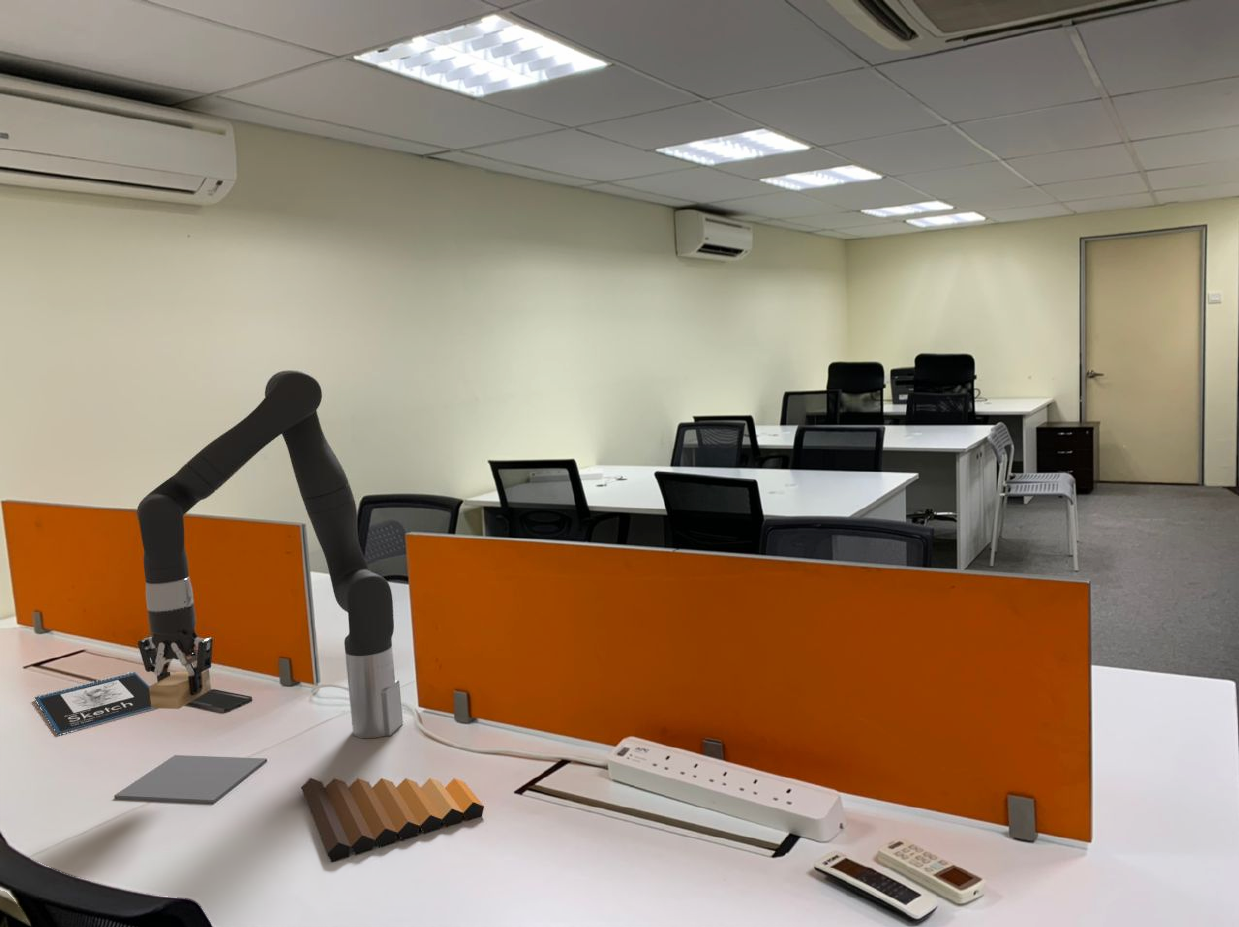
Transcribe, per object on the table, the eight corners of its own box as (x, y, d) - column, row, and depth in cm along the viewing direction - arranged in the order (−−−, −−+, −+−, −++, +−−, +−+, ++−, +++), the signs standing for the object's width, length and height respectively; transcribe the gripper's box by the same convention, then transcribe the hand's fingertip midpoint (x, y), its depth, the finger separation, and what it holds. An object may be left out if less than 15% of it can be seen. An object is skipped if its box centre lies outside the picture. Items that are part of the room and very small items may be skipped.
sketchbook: (58, 739, 188) (57, 730, 188) (34, 702, 210) (33, 694, 210) (167, 707, 202) (166, 699, 202) (134, 676, 224) (133, 669, 224)
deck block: (178, 708, 157) (176, 687, 156) (151, 708, 158) (148, 686, 157) (211, 689, 166) (208, 669, 165) (185, 689, 167) (182, 668, 166)
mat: (267, 761, 170) (266, 758, 170) (214, 803, 154) (213, 800, 154) (175, 757, 174) (174, 754, 174) (114, 798, 158) (114, 795, 158)
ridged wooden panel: (302, 798, 156) (328, 866, 134) (300, 780, 155) (326, 845, 133) (440, 761, 167) (485, 818, 145) (438, 744, 167) (483, 798, 145)
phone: (211, 688, 209) (254, 696, 202) (211, 693, 210) (254, 701, 202) (181, 700, 203) (224, 709, 195) (181, 705, 203) (225, 714, 196)
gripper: (120, 609, 157) (132, 700, 159) (192, 609, 154) (203, 702, 156) (150, 597, 165) (161, 685, 167) (219, 597, 162) (229, 686, 164)
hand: (181, 693), depth 162 cm, fingers closed on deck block, 5 cm apart
